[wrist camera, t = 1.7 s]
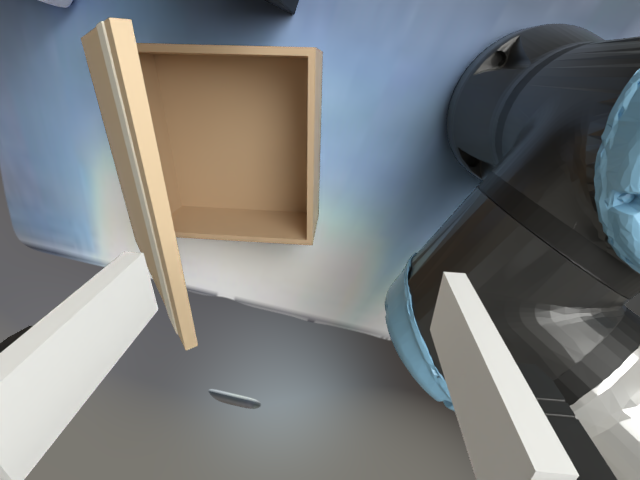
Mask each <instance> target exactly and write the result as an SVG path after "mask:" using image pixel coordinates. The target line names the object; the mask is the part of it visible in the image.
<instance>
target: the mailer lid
mask: <svg viewBox="0 0 640 480" xmlns="http://www.w3.org/2000/svg"><path fill="white" fill-rule="evenodd" d="M81 41H82V45H83V49H84V52H85V56H86V60H87V63H88V67H89V71H90V74H91V78H92V82H93V85H94V89H95V93H96V96H97V100H98V104H99V108H100V111H101V115H102V119H103V122H104V126H105V130H106V133H107V137H108V141H109V144H110V148H111V152H112V155H113V159H114V163H115V167H116V170H117V174H118V178H119V181H120V185H121V189H122V192H123V196H124V200H125V203H126V207H127V211H128V214H129V218H130V222H131V226H132V229H133V233H134V237H135V240H136V242H137V245H138V247H139V249H140V251H141V253H144V257H145V260H146V264H147V267H148V269H149V271H150V273H151V275H152V278H153V280H154V282H155V284H156V286H157V288H158V291H159V293H160V295H161V297H162V299H163V302H164V304H165V306H166V309H167V313H168V316H169V318H170V320H171V323H172V325H173V327H174V329H175V332H176V334H178V335H179V337H180V339H181V341H182V343H183V346H184V348H185V350H189V349H191V348H193V347H196V346H198V344H197V339H196V334H195V328H194V324H193V319H192V314H191V309H190V304H189V299H188V295H187V289H186V284H185V280H184V275H183V270H182V265H181V260H180V255H179V250H178V245H177V240H176V236H175V231H174V226H173V221H172V216H171V211H170V206H169V201H168V196H167V192H166V187H165V182H164V177H163V172H162V167H161V162H160V157H159V152H158V148H157V143H156V138H155V133H154V128H153V123H152V118H151V113H150V108H149V104H148V99H147V94H146V89H145V84H144V79H143V74H142V69H141V64H140V60H139V55H138V50H137V45H136V40H135V35H134V30H133V25H132V20H131V19H120V18H108V19H106V20H105V21H101V22H99V23H98V24H97V25H96V27H95V28H94V29H93V30H91V31H90V32H89V33H87V34H86V35H84V36H83V37H82V38H81Z"/></svg>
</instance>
